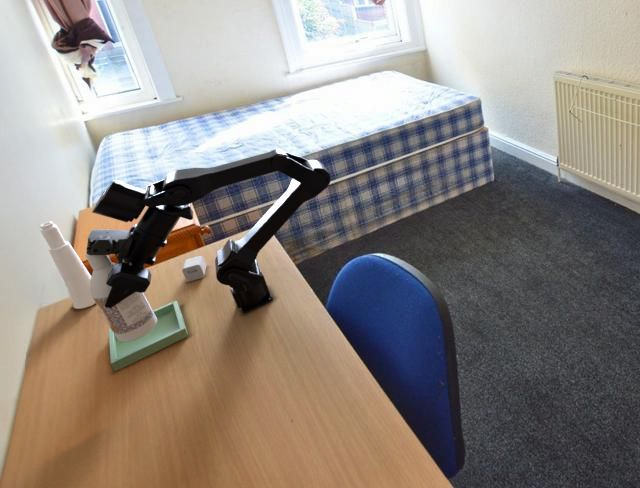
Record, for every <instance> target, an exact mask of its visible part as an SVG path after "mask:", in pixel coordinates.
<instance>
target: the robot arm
mask: <svg viewBox="0 0 640 488" xmlns="http://www.w3.org/2000/svg"><path fill="white" fill-rule="evenodd" d="M276 172H279V173H281V174H283V175H285V176H287V177H289V178H290V179H291V181H290V184H289V186H288V188H287V190H286V191H285V192H284V193H283V194H282V195H281V196H280V197H279V198H278V199H277V200H276V202H275V203H274V204H273V205H272V206H271V207H270V208H269V209H268V210H267V211H266V212H265V213H264V215H263V216H262V217H261V218H260V219H259V220H258V221H257V222H256V223H255V224H254V225H253V226H252V228H251V229H250V230H249V231H248V232H247V233H246V234H245V235H244V236H243V237H242V238H239V239H238V240H236V241H234V240H233V239H232V238H228V240H227V241H226V242H225V244H224V245H223V246H222V247H221V248H220V249H218V250H217V251H216V257H215V259H214V264H215V265H214V266H215V276H216V280H217V281H218V283H220V284H221V285H224V286H229V287H230V290H229V291H230V293H231V295H232V298H233V301H234V303H235V305H236V307H237V309H239V310H241V312H242V314H246V313H249V312H250V311H252V310H254V309H257V308H259V307H260V306H263V305H265V304H267V303H269V302H271V301H273V300H274V296H273V294H272V293H271V291H270V290H269V287H268V284H267V281H266V278H265V276H264V274H263V272H262V270H261V269H260V268H259V262H258V259H257V257H258V255H259V253H260V251H261V250H262V249H263V248H264V247H265V246H266V245H267V243H268V242H269V241H271V239H272V238H273V237H274V236H275V235H276V234H277V233H278V232H279V231H280V230H281V228H282V227H283V226H284V225H285V224H286V222H288V221H289V219H291V217H292V216H293V215H294V214H295V213H296V212H297V211H298V210H299V209H300V207H301V206H302V205H303V204H304V203H306V202H308V201H310V200H312V199H314V198H316V197H318V195H320V194H321V193H323V192H324V191H325V190H326V189H327V188H328V187H329V186H330V184H331V175H330V173H329V172H328V169H327V168H326V166H325V165H324V164H323V163H322V162H321V161H319V160H317V159H306V158H304V157H302V156H300V155H297V154H293V153H289V152H287V151H285V150H283V149H281V148H275V149H272V150H270V151H268V152H264V153H261V154H257V155H254V156H253V155H252V156H249V157H245V158H242V159H238V160H234V161H231V162H228V163H224V164H220V165H216V166H212V167H190V168H182V169H181V168H180V169H176V170H175V169H174V170H173V171H171V172H169V173H167V174H166V176H165V177H164V178H163V179H160V180H158V181H156V182H153V183H151V184H148V185H146V186H145V189H143V188H140V187H136V186H134V185H131V184H127V183H125V182H123V181H122V180H119V179H113V180H112V182H111V184H109V185H108V187H107V188H106V189H104V190H103V192H102V194H101V195H100V197H99V198H98V200H97V202H96V203H95V204H94V206H93V209H92V212H91V213H92V214H96V215H98V216H99V215H100V216H104V217H106V218H110V219H113V220H116V221H120V222H124V223H128V222H130V223H132V222H133V221H134V220H138V219H139V217H140V216H141V214H142V213H143V211H144V210H145V208H146V207H147V208H146V210H145V211H144V213H143V215H142V216H141V218H140V220H139V221H138V222H137V223H135V224H132V225H131V227H130V229H129V230H128V229H127V230H125V229H116V228H113V229H112V228H111V229H109V228H104V229H103V228H96V229H92V230H90V232H89V234H88V238H87V244H86V251H85V252H86V253H85V254H88V255H108V256H110V255H115V257H116V260H117V264H118V265H115V266H114V267H113V268H112V270H111V271H110V273H109V274H108V277H107V281H106V284H107V285H108V286H111V290H110V292H109V295H108V298H107V300H106V303H105V307H107V308H112V307H113V306H115V305H116V304H118V303H119V302H121V301H122V300H124V299H125V298H127V297H129V296H130V295H132V294H133V293H135V292H139V293H146V292H147V290H148V289H149V287H150V285H151V281H152V273H151V271H150V269H149V268H145V265H149V266H153V265H154V263H155V262H156V257H157V256H158V253H159V252H160V251H161V249H162V248H165V247H166V245H167V242H168V238H169V236H170V234H171V233H172V232H173V230H174V228H175V226H176V225H177V224H178V222H179V220H180V219H181V218H182V219H185V220H188V221H192V220H193V219H194V210H193V209H192V208H191V204H193V203H195V202H197V201H199V200H201V199H203V198H205V197H206V196H208V195H210V194H212V193H213V192H215V191H217V190H218V189H221V188H224V187H228V186H232V185H234V184H238V183H241V182H245V181H249V180H251V179H255V178H258V177H262V176H265V175H268V174H269V175H270V174H272V173H276Z"/></svg>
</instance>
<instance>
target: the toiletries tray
mask: <svg viewBox="0 0 640 488" xmlns="http://www.w3.org/2000/svg"><path fill="white" fill-rule="evenodd" d="M152 310H153V312H154V314H155V316H156V318H157V324H156V326H155V327H154V328H153V329H152V330H151V331H150V332H149V333H147V334H146V335H144V336H142V337H140V338H138V339H136V340H133V341H129V342H121V341H119V340H118V339H117V338H116V336H115V334H114V333H113V331H112V329H111V328H109V329H108V344H109V358H110V365H111V366H112V369H113V370H114V372H117V371H119V370H121V369H123V368H125V367H127V366H130V365H132V364H133V363H135V362H138V361H140V360H142V359H144V358H146V357H148V356H150V355H153V354H155V353H156V352H158V351H161V350H162V349H164V348H167V347H169V346H171V345H173V344H175V343H177V342H179V341H181V340H184V339H185V338H187V337H189V333H188V330H187V326H186V323H185V320H184V317H183V312H182V310H181V307H180V304H179V303H178V300H174V301H172V302H169V303H167V304H165V305H163V306H160V307H157V308H156V309H152Z"/></svg>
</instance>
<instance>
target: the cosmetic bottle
mask: <svg viewBox="0 0 640 488" xmlns="http://www.w3.org/2000/svg"><path fill="white" fill-rule="evenodd" d="M39 227H40V233H41V234H42V237H43V239H45V240H44V241H46V243H47V245H48V246H49V247H48V252H49V254H50V256H51V259H52V260H53V262H54V264H55V266H56V268H57V270H58V272H59V274H60V277H61V278H62V281H63V282H64V285H65V287H66V290H67V292H68V294H69V296H70V299H71V302H72V306H73V308H74V309H75V310H81V309H86V308H89V307H92V306H94V305H96V302H95V301H94V299H93V297H92V295H91V292H90V280H91V276H92V274H90V272H89V271H88V269H87V267H86V266H85V265H84V263H83V261H82V260H81V258H80V257H79V255H78V253H77V252H76V251H75V249H74V248H73V246H72V245H71V242H70V241H66V239H65V237H64V236H63V234H62V233H61V230H60V229H59V226H58V225H57V224H55V223H54V222H53V221H47V222H44V223H41V224H40V225H39Z"/></svg>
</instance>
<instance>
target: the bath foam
mask: <svg viewBox="0 0 640 488" xmlns="http://www.w3.org/2000/svg"><path fill="white" fill-rule="evenodd" d="M84 256H85V258H86V260H87V262H88V263H89V265H90V267H91V269H92V274H91V280H90V292H91V295H92V297H93V299H94V301H95V302H96V303H95V305H96V306H97V308H98V309H99V311H100V312H101V314H102V316H103V318H104V319H105V321H106V323H107V325H108V326H109V329H112V331H113V333H114V334H115V336H116V338H117V339H118V340H119V341H121V342H129V341H133V340H136V339H138V338H140V337H142V336H144V335H146V334H147V333H149V332H150V331H151V330H152V329H153V328H154V327H155V326H156V324H157V318H156V316H155V314H154V312H153V310H154V309H153V308H152V306H151V304H150V302H149V300H148V299H147V297H146V295H145V292H143V293H139V292H135V293H133V294H132V295H130V296H129V297H127V298H125V299H124V300H122V301H121V302H119V303H118V304H116V305H115V306H113V307H112V308H107V307H105V303H106V300H107V298H108V295H109V292H110V290H111V286H108V285H107V284H106V281H107V277H108V274H109V273H110V271H111V270H112V268H113V267H114V266H115V265H118V263H116V262H112V260H111V258H110V255H88V254H86V253H84Z"/></svg>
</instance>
